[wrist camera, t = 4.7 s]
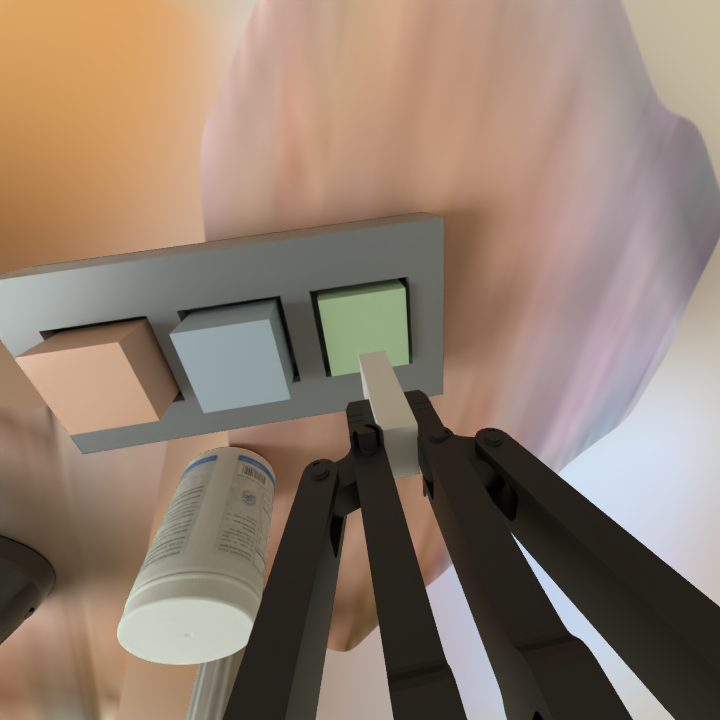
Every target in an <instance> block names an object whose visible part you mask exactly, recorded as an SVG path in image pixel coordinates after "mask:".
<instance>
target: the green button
mask: <svg viewBox="0 0 720 720" xmlns="http://www.w3.org/2000/svg"><path fill="white" fill-rule="evenodd" d="M318 305H319V310H320V315H321V321H322V326H323V332H324V337H325V342H326V348H327V353H328V358H329V364H330V369H331V375H332V376H338V375H345V374H351V373H357V372H361V371H360V364H359V356H358V355H360V354H366V353H372V352H378V351H385V353H386V355H387V357H388V360H389V362H390V364H391V366H392V367H394V366H400V365H406V364H409V352H408V332H407V312H406V292H405V287H404V286H403V285H402V284H401V282H400V281H399V280H398V279H397V278H396V279H389V280H382V281H375V282H369V283H362V284H355V285H348V286H342V287H335V288H328V289H321V290H318Z"/></svg>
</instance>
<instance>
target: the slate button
mask: <svg viewBox="0 0 720 720" xmlns="http://www.w3.org/2000/svg"><path fill="white" fill-rule="evenodd" d="M169 335H170V337H171V339H172V342H173V344H174V346H175V349H176V351H177V353H178V355H179V358H180V360H181V362H182V365H183V367H184V369H185V372H186V374H187V376H188V378H189V381H190V383H191V385H192V388H193V390H194V392H195V394H196V397H197V399H198V401H199V404H200V406H201V408H202V410H203V413H209V412H215V411H221V410H227V409H233V408H240V407H246V406H252V405H258V404H264V403H270V402H276V401H282V400H288V399H291V392H292V383H293V375H294V368H293V364H292V360H291V356H290V352H289V348H288V344H287V340H286V336H285V332H284V328H283V324H282V320H281V316H280V312H279V308H278V304H277V300H276V299H275V300H268V301H262V302H255V303H248V304H241V305H235V306H228V307H221V308H215V309H208V310H201V311H194V312H191V313H190V314H189V315H188V316H187V317H186V318H185V319H184V320H183V321H182V322H181V323H180V324H179V325H178V326H177V327H176V328H175V329H174V330H173V331H172V332H171V333H170V334H169Z"/></svg>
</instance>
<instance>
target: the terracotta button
mask: <svg viewBox="0 0 720 720" xmlns="http://www.w3.org/2000/svg"><path fill="white" fill-rule="evenodd" d="M14 359H15V360H16V361H17V363H18V364H19V366H20V367H21V368H22V370H23V371H24V373H25V374H26V375H27V377H28V378H29V380H30V381H31V382H32V384H33V385H34V386H35V388H36V389H37V391H38V392H39V394H40V395H41V396H42V397H43V399H44V401H45V402H46V403H47V405H48V406H49V408H50V409H51V410H52V412H53V413H54V415H55V416H56V417H57V419H58V420H59V422H60V423H61V424H62V426H63V427H64V428H65V430H66V431H67V433H68V434H69V435H75V434H81V433H87V432H93V431H99V430H105V429H111V428H118V427H124V426H130V425H136V424H142V423H148V422H154V421H160V419H161V418H162V416H163V415H164V413H165V412H166V410H167V409H168V407H169V406H170V404H171V403H172V401H173V400H174V399H175V397H176V396H177V394H178V393H179V391H180V388H179V385H178V383H177V381H176V379H175V377H174V375H173V372H172V370H171V368H170V366H169V364H168V362H167V359H166V357H165V355H164V353H163V351H162V348H161V346H160V344H159V342H158V340H157V338H156V335H155V333H154V331H153V329H152V327H151V325H150V322H149V320H148V318H147V319H141V320H134V321H127V322H121V323H114V324H107V325H100V326H94V327H87V328H80V329H74V330H67V331H61V332H59V333H57V334H55V335H54V336H52V337H50V338H48V339H47V340H45V341H43V342H41V343H39V344H38V345H36V346H34V347H32V348H30V349H29V350H27V351H25V352H23V353H22V354H20V355H18V356H16V357H14Z"/></svg>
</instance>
